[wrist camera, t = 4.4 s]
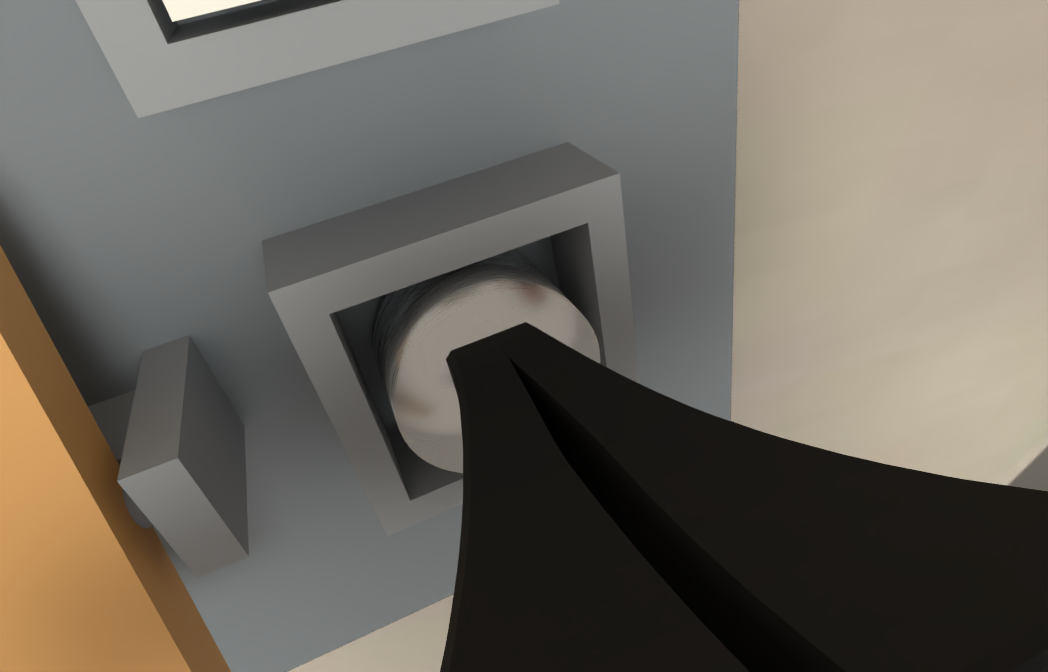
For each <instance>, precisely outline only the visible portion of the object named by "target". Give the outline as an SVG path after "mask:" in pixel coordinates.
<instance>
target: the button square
mask: <svg viewBox="0 0 1048 672" xmlns="http://www.w3.org/2000/svg"><path fill="white" fill-rule="evenodd" d="M256 1H260V0H163V3H164V5H165V7H166V9H167V11H168V13H169V16H170V18H171V20H172V22H174V21H178V20H182V19H186V18H190V17H195V16H199V15H203V14H207V13H211V12H215V11H219V10H223V9H227V8H231V7H236V6H240V5H244V4H248V3H252V2H256Z"/></svg>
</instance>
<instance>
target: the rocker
mask: <svg viewBox="0 0 1048 672" xmlns="http://www.w3.org/2000/svg"><path fill="white" fill-rule="evenodd" d="M119 469H120V465H119V463H118V462H117V460H116V458H115V456H114V454H113V452H112V451H111V449H110V447H109V445H108V443H107V441H106V439H105V438H104V436H103V434H102V432H101V430H100V428H99V426H98V425H97V423H96V421H95V419H94V417H93V415H92V414H91V412H90V410H89V408H88V406H87V404H86V402H85V401H84V399H83V397H82V395H81V393H80V391H79V390H78V388H77V386H76V384H75V382H74V380H73V378H72V377H71V375H70V373H69V371H68V369H67V367H66V366H65V364H64V362H63V360H62V358H61V356H60V354H59V353H58V351H57V349H56V347H55V345H54V343H53V342H52V340H51V338H50V336H49V334H48V332H47V330H46V329H45V327H44V325H43V323H42V321H41V319H40V317H39V316H38V314H37V312H36V310H35V308H34V306H33V305H32V303H31V301H30V299H29V297H28V295H27V293H26V292H25V290H24V288H23V286H22V284H21V282H20V281H19V279H18V277H17V275H16V273H15V271H14V269H13V268H12V266H11V264H10V262H9V260H8V258H7V257H6V255H5V253H4V251H3V249H2V247H1V245H0V672H231V670H230V669H229V667H228V665H227V663H226V661H225V659H224V657H223V656H222V654H221V652H220V650H219V648H218V646H217V644H216V643H215V641H214V639H213V637H212V635H211V633H210V632H209V630H208V628H207V626H206V624H205V622H204V620H203V619H202V617H201V615H200V613H199V611H198V609H197V608H196V606H195V604H194V602H193V600H192V598H191V596H190V595H189V593H188V591H187V589H186V587H185V585H184V584H183V582H182V580H181V578H180V576H179V574H178V572H177V571H176V569H175V567H174V565H173V563H172V561H171V560H170V558H169V556H168V554H167V552H166V550H165V548H164V547H163V545H162V543H161V541H160V539H159V537H158V535H157V534H156V532H155V530H154V528H153V526H154V525H153V524H152V523H151V522H150V520H149V519H148V518H147V517H146V516H145V514H144V513H143V512H142V511H141V510H140V508H139V507H138V506H137V505H136V504H135V502H134V501H133V500H132V499H131V498H130V496H129V495H128V494H127V493H126V492H125V490H124V489H123V488H122V487H121V486H120V484H119V483H118V482H117V479H118V474H119Z"/></svg>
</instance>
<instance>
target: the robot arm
mask: <svg viewBox="0 0 1048 672" xmlns="http://www.w3.org/2000/svg"><path fill="white" fill-rule="evenodd" d="M446 362H447V365H448V368H449V371H450V374H451V377H452V380H453V383H454V387H455V390H456V393H457V396H458V401H459V407H460V418H461V429H462V441H463V506H462V523H461V536H460V547H459V558H458V567H457V574H456V581H455V589H454V596H453V603H452V611H451V617H450V623H449V629H448V635H447V641H446V646H445V651H444V656H443V661H442V665H441V670H440V672H1048V492H1047V491H1041V490H1034V489H1027V488H1020V487H1013V486H1006V485H999V484H992V483H985V482H978V481H971V480H964V479H959V478H953V477H947V476H942V475H937V474H932V473H927V472H922V471H917V470H912V469H907V468H902V467H897V466H891V465H886V464H882V463H878V462H873V461H869V460H865V459H860V458H856V457H851V456H847V455H843V454H839V453H835V452H832V451H828V450H824V449H820V448H817V447H813V446H809V445H806V444H802V443H798V442H794V441H791V440H787V439H784V438H780V437H777V436H774V435H770V434H767V433H764V432H761V431H758V430H755V429H752V428H749V427H746V426H743V425H740V424H737V423H734V422H732V421H729V420H726V419H723V418H720V417H717V416H714V415H711V414H709V413H706V412H704V411H701V410H698V409H696V408H693V407H691V406H688V405H686V404H683V403H681V402H679V401H677V400H674V399H672V398H670V397H667V396H665V395H663V394H661V393H658V392H656V391H654V390H652V389H650V388H647V387H645V386H643V385H641V384H639V383H637V382H635V381H633V380H631V379H629V378H627V377H625V376H623V375H621V374H619V373H617V372H615V371H613V370H611V369H609V368H607V367H605V366H603V365H602V364H600V363H598V362H596V361H594V360H592V359H590V358H589V357H587V356H585V355H583V354H581V353H580V352H578V351H576V350H574V349H572V348H571V347H569V346H567V345H565V344H564V343H562V342H560V341H559V340H557V339H555V338H553V337H552V336H550V335H548V334H547V333H545V332H543V331H541V330H540V329H538V328H536V327H535V326H533V325H531V324H529V323H527V322H524V323H522V324H519V325H516V326H514V327H511V328H509V329H506V330H504V331H501V332H498V333H496V334H493V335H491V336H488V337H485V338H483V339H480V340H478V341H475V342H472V343H470V344H467V345H464V346H462V347H459V348H457V349H454V350H451V351H450V353H449V355H448V356H447V358H446Z"/></svg>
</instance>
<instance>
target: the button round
mask: <svg viewBox="0 0 1048 672" xmlns="http://www.w3.org/2000/svg"><path fill="white" fill-rule="evenodd" d="M524 322H527V323H529V324H531V325H533V326H535V327H536V328H538V329H540V330H541V331H543V332H545V333H547V334H548V335H550V336H552V337H553V338H555V339H557V340H559V341H560V342H562V343H564V344H565V345H567V346H569V347H571V348H572V349H574V350H576V351H578V352H580V353H581V354H583V355H585V356H587V357H589V358H590V359H592V360H594V361H596V362H598V363H600V349H599V345H598V340H597V337H596V335H595V332H594V330H593V328H592V327H591V325H590V323H589V322H588V320H587V319H586V318H585V317H584V316H583V314H582V313H581V312H580V311H579V310H578V309H577V308H576V307H575V306H574V305H573V304H572V303H571V302H570V301H569V299H568V298H567V297H566V296H565V295H564V294H563V293H562V292H561V291H560V290H559V289H558V288H557V287H556V286H555V285H554V284H553V282H552V281H551V280H550V279H549V278H548V277H547V276H546V275H545V274H544V273H543V272H542V271H541V270H540V269H539V268H538V267H537V265H536V264H534V263H533V262H532V261H531V260H530V259H528V258H527V257H525V256H524V255H522V254H520V253H519V252H516V251H514V250H509V251H507V252H504V253H501V254H498V255H495V256H492V257H490V258H487V259H484V260H481V261H478V262H475V263H473V264H470V265H467V266H464V267H461V268H459V269H456V270H453V271H450V272H447V273H444V274H442V275H439V276H436V277H433V278H430V279H427V280H425V281H422V282H419V283H416V284H413V285H410V286H408V287H405V288H402V289H399V290H396V291H394V292H391V293H388V294H387V296H386V297H385V299H384V301H383V303H382V305H381V307H380V309H379V311H378V314H377V317H376V320H375V324H374V330H373V352H374V358H375V361H376V364H377V368H378V370H379V373H380V376H381V379H382V382H383V385H384V388H385V391H386V393H387V396H388V399H389V402H390V405H391V408H392V411H393V413H394V416H395V419H396V422H397V425H398V428H399V431H400V433H401V435H402V437H403V438H404V440H405V442H406V443H407V444H408V446H409V447H410V448H411V450H412V451H414V452H415V453H416V454H417V455H418V456H419V457H420V458H422V459H423V460H425V461H426V462H428V463H430V464H432V465H434V466H436V467H438V468H441V469H444V470H448V471H452V472H458V473H463V441H462V429H461V418H460V407H459V401H458V396H457V393H456V390H455V387H454V383H453V380H452V377H451V374H450V371H449V368H448V365H447V362H446V358H447V356H448V355H449V353H450V351H451V350H454V349H457V348H459V347H462V346H464V345H467V344H470V343H472V342H475V341H478V340H480V339H483V338H485V337H488V336H491V335H493V334H496V333H498V332H501V331H504V330H506V329H509V328H511V327H514V326H516V325H519V324H522V323H524Z"/></svg>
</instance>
